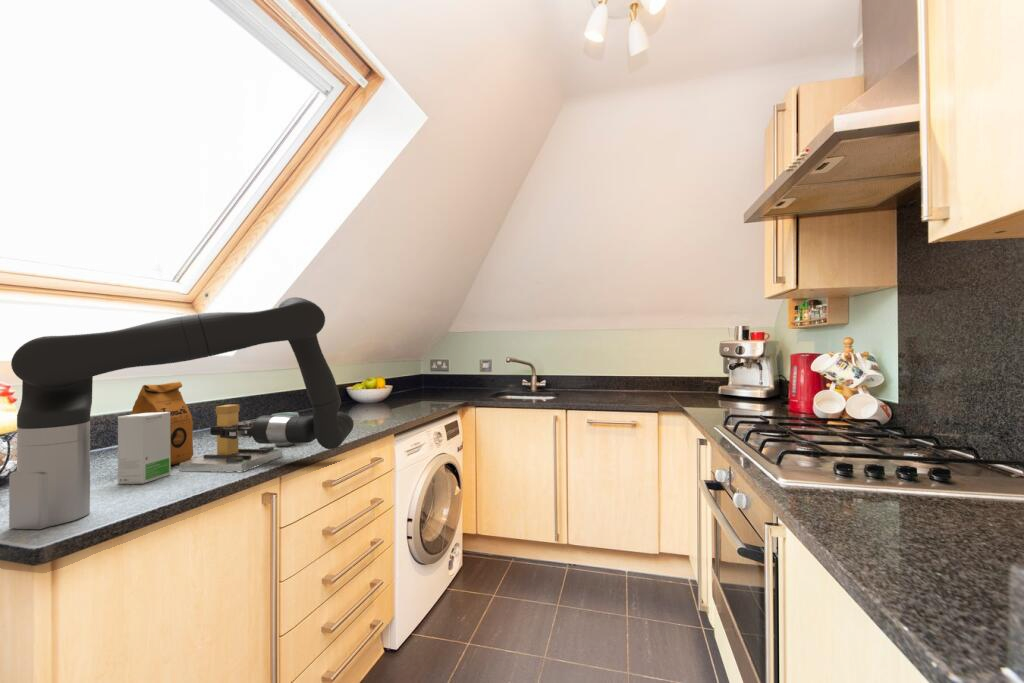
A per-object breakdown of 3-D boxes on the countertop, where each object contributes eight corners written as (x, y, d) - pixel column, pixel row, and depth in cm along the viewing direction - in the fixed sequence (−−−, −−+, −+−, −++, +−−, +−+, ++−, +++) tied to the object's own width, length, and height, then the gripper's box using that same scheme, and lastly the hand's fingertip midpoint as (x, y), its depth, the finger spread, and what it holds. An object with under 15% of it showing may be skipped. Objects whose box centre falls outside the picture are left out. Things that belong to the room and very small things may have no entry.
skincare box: (143, 484, 100) (143, 416, 100) (114, 484, 100) (114, 416, 100) (172, 474, 108) (172, 411, 108) (146, 474, 108) (146, 411, 108)
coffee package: (199, 460, 122) (199, 381, 122) (156, 472, 110) (156, 384, 110) (169, 458, 124) (169, 381, 124) (123, 471, 111) (123, 384, 112)
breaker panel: (241, 472, 109) (241, 461, 109) (179, 471, 111) (179, 460, 111) (282, 456, 125) (282, 446, 125) (227, 455, 126) (227, 445, 127)
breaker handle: (227, 455, 117) (227, 406, 117) (215, 455, 117) (215, 406, 117) (239, 451, 121) (239, 404, 121) (228, 451, 121) (228, 404, 122)
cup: (279, 449, 134) (279, 416, 134) (266, 446, 138) (266, 414, 139) (303, 444, 141) (303, 413, 141) (290, 441, 145) (290, 411, 145)
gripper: (293, 411, 125) (237, 411, 126) (259, 419, 111) (196, 419, 112) (293, 438, 125) (237, 437, 126) (259, 449, 110) (196, 448, 112)
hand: (218, 429), depth 119 cm, fingers closed on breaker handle, 4 cm apart
